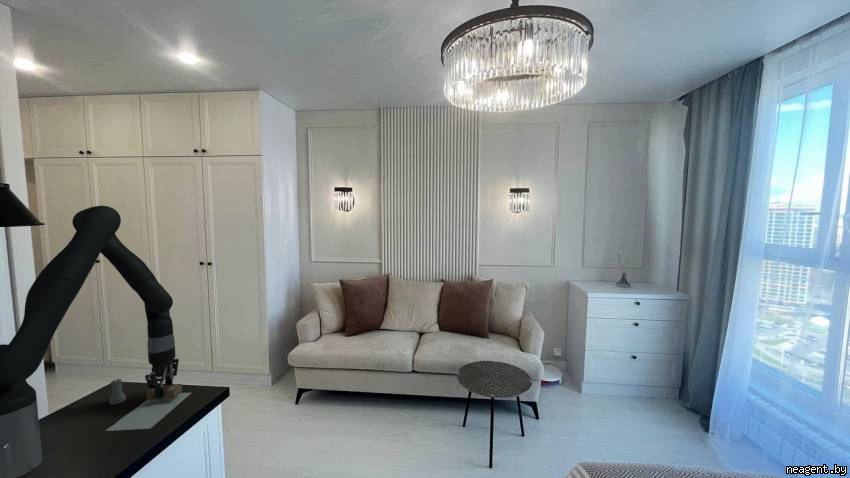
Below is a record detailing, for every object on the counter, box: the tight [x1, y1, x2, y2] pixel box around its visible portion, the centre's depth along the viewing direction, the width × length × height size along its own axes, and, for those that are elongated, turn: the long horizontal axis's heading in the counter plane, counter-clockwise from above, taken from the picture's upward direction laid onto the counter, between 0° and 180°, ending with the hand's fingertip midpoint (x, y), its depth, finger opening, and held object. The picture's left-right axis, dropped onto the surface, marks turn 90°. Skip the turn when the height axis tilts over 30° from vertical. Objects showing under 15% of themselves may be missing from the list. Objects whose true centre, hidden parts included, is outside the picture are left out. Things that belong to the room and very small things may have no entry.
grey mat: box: [105, 392, 192, 432], centre depth 113 cm, size 21×13×1 cm, turn 5°
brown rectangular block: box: [145, 383, 183, 400], centre depth 119 cm, size 9×4×3 cm, turn 95°
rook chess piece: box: [108, 378, 127, 405], centre depth 118 cm, size 4×4×8 cm
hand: (164, 393), depth 119 cm, fingers closed on brown rectangular block, 4 cm apart
